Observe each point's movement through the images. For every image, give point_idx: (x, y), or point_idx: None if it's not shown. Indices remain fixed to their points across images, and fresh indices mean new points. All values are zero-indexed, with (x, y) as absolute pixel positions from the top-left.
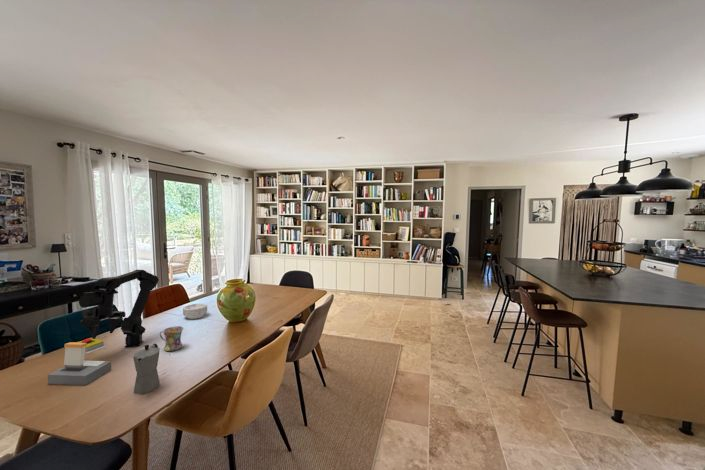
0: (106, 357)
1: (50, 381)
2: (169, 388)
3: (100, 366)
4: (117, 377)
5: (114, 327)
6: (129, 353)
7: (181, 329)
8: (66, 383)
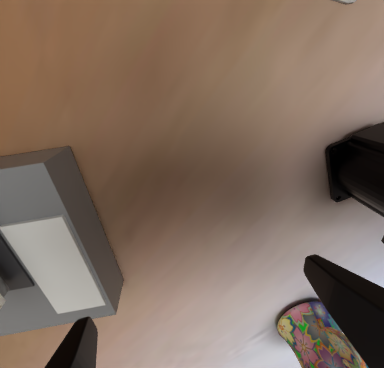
0: (208, 166)
1: None
2: None
3: (68, 318)
4: (98, 328)
5: (361, 356)
6: (258, 224)
7: None
8: None
